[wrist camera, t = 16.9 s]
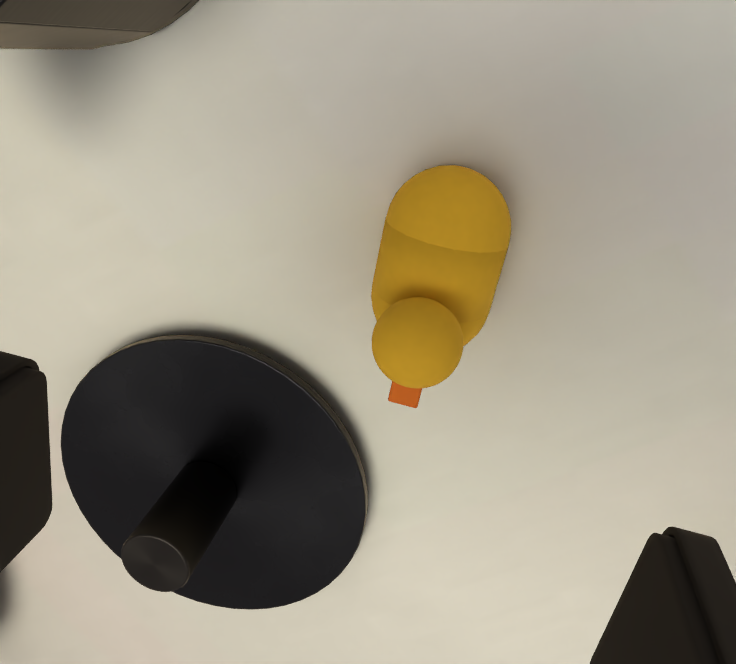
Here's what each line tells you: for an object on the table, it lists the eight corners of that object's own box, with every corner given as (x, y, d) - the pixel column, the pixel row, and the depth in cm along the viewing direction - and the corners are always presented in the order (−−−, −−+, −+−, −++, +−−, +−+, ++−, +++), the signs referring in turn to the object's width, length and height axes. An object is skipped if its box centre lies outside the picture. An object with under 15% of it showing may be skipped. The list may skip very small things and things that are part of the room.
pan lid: (400, 377, 24) (372, 462, 19) (342, 625, 30) (308, 741, 25) (74, 292, 26) (-33, 350, 21) (77, 544, 31) (-6, 638, 26)
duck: (409, 144, 21) (374, 175, 15) (525, 170, 20) (531, 212, 15) (370, 328, 24) (330, 409, 18) (472, 354, 23) (461, 445, 18)
